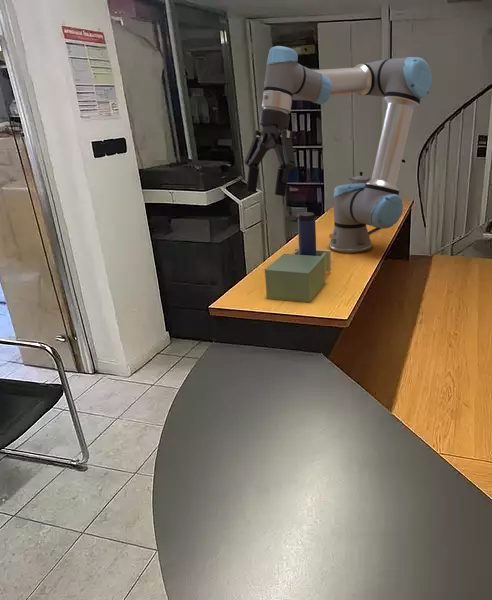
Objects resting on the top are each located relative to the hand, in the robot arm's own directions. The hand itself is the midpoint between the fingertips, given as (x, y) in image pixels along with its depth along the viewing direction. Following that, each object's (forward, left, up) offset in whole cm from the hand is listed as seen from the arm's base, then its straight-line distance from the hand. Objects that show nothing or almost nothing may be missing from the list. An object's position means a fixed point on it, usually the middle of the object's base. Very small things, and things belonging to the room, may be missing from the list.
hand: (264, 193), depth 130 cm
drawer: (-13, +7, -27) cm, 31 cm away
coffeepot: (-109, +3, -28) cm, 113 cm away
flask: (-12, +7, -26) cm, 29 cm away
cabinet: (-1, +7, -28) cm, 29 cm away
